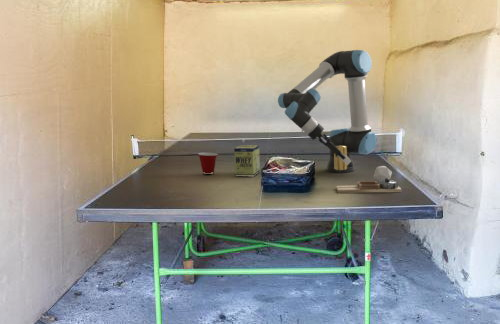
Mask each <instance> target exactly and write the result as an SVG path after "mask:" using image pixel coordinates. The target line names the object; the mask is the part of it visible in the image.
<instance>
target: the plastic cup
mask: <svg viewBox="0 0 500 324" xmlns="http://www.w3.org/2000/svg"><path fill="white" fill-rule="evenodd" d="M197 155H198V156H199V160H200V161H199V162H200V167H201V172H202V173H203V172H205V173H211V172H214V173H215V167H216V160H217V156H218V155H219V154H218V153H216V152H198V153H197Z"/></svg>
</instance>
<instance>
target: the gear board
mask: <svg viewBox="0 0 500 324" xmlns="http://www.w3.org/2000/svg"><path fill="white" fill-rule="evenodd" d="M377 182H378V181H377V180H369V181H367V180H366V181H364V180H363V181H362V180H361V181H359V180H358V181H357V183H356V184H357V185H336V191H337V193H338V194H351V193H352V194H355V193H357V194H358V193H359V194H361V193H362V194H363V193H364V194H365V193H403V191H402V190H403V189H402V188H401V187H400V186H399V185H398V187H397V188H396V189H380V185H379V184H378V183H377Z"/></svg>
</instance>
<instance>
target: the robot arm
mask: <svg viewBox="0 0 500 324" xmlns="http://www.w3.org/2000/svg"><path fill="white" fill-rule="evenodd" d="M372 63H373V61H372V58H371V55H370V54H369V53H368V52H367V51H366V50H364V49H353V50H341V51H336V52H335V53H333V54H331V55H329V56H327V57H326V58H325V59H324V60H322V61H321V62H320V63H319V65H318V67H317V68H316V69H315V70H313V71H312V72H311V73H310V74H308V76H306V77H305V78H304V79H303V80H301V81H300V82H299V83H298V84H297V85H295V86H294V87H293V88H291V90H289V91H288V92H283V93H281V94H279V96H278V97H277V103H278V105H279V107H280V108H282V109H285V110H284V115H286V116H287V118H289V120H291V121H292V122H293V123H294V124H295V125H296V126H298V128H300V130H301V132H304V133H305V134H307V136H308V137H309V138H310V139H311V140H316V139H317V138H318V141H319V143H322V144H323V145H324V146H325V147H327V148H328V149H329V158H328V162H327V164H326V171H327V172H330V173H350V172H351V173H352V172H354V171H355V164H354V161H353V159H352V154H360V155H368V154H371V153H372V152H373V151H374V150H375V148H376V146H377V135H376V134H375V132H372V126H370V125H369V122H368V121H369V120H368V108H367V94H366V93H367V92H366V81H365V80H366V78H367V77H368V73H370V72H371V70H372V66H373V65H372ZM336 75H343V76H344V79H345V80H346V81H347V85H348V89H347V90H348V100H349V112H350V114H349V115H350V127H346V128H339V129H332V130H330V132H329V137H328V135H327V134H326V133H322V132H323V131H324V129H325V128H324V127H323V126H322V124H320V123H318V121H317V120H316V119H315V118H314V117H313V116H311V115H310V113H311V111H312V110H313V109H314V108H315V107H316V106H317V105H318V103H319V102H320V100H321V97H322V96H321V94H320V92H319V91H318V90H317V88H318V87H319V86H321V85H322V84H323V83H325V82H326V80H328V79H331V78H334V76H336ZM335 146H347V157H346V156H345V155H344V154H343V153H342V152H341V151H340V150H338V149H337V148H336V147H335ZM334 153H335V155H336V157H337V156H338V157H339V158H340V159H341V160H342V161H343V162H344V163H345V164H346V165H347V169H346V170H336V169H334Z"/></svg>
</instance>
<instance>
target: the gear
mask: <svg viewBox="0 0 500 324" xmlns="http://www.w3.org/2000/svg"><path fill="white" fill-rule="evenodd" d="M377 183H378V184H379V185H380V189H396V188H397V187H398V186H399V182H398V181H396V180H393V179H391V177H390V178H385V180H381V181H380V180H379V181H377Z"/></svg>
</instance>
